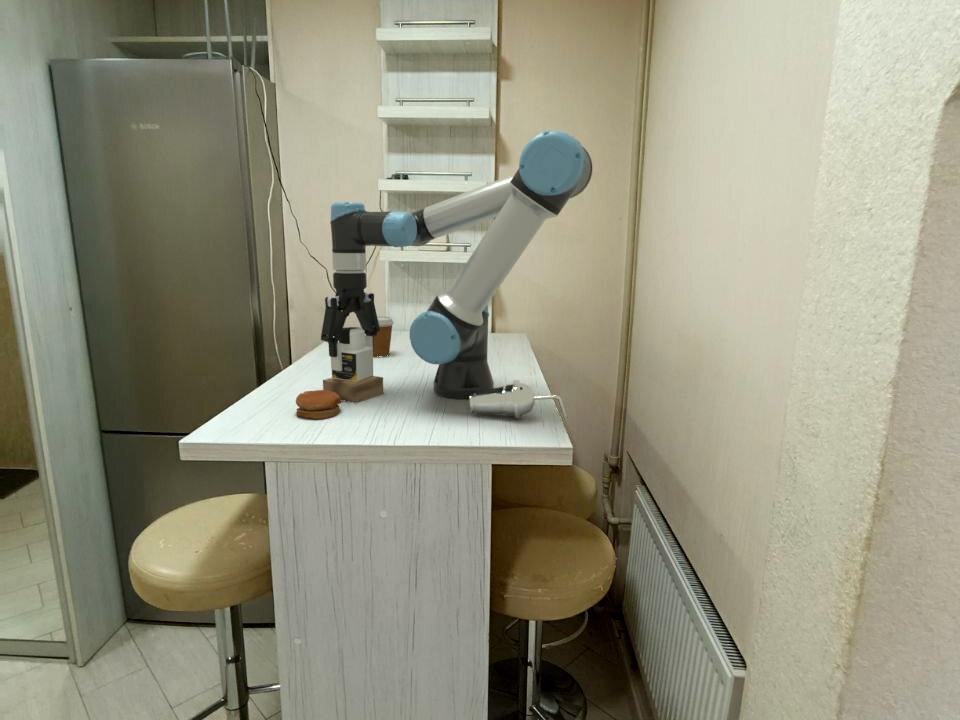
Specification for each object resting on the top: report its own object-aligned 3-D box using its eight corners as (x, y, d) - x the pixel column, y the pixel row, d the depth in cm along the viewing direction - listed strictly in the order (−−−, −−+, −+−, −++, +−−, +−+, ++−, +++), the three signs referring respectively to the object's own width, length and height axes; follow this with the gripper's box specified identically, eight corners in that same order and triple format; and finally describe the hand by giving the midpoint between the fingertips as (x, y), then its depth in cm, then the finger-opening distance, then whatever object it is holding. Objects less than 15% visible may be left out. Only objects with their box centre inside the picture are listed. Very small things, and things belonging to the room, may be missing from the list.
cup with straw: (475, 384, 126) (564, 377, 121) (477, 424, 125) (567, 419, 120) (466, 382, 117) (561, 374, 113) (468, 425, 116) (564, 419, 112)
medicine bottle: (331, 379, 132) (329, 329, 129) (349, 372, 138) (348, 325, 136) (356, 382, 129) (354, 331, 127) (374, 375, 136) (372, 327, 133)
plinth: (383, 393, 136) (383, 376, 135) (354, 403, 128) (354, 385, 127) (353, 387, 141) (352, 370, 140) (323, 396, 133) (322, 379, 132)
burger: (333, 421, 116) (332, 399, 115) (289, 420, 116) (287, 398, 115) (346, 407, 126) (345, 387, 125) (305, 406, 126) (304, 386, 125)
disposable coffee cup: (388, 359, 174) (387, 321, 171) (359, 357, 175) (358, 319, 173) (398, 353, 183) (397, 316, 180) (371, 351, 184) (370, 315, 182)
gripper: (370, 268, 139) (372, 355, 144) (300, 273, 121) (305, 372, 126) (393, 270, 136) (395, 359, 141) (324, 274, 117) (329, 377, 122)
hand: (352, 365), depth 133 cm, fingers open, 10 cm apart
